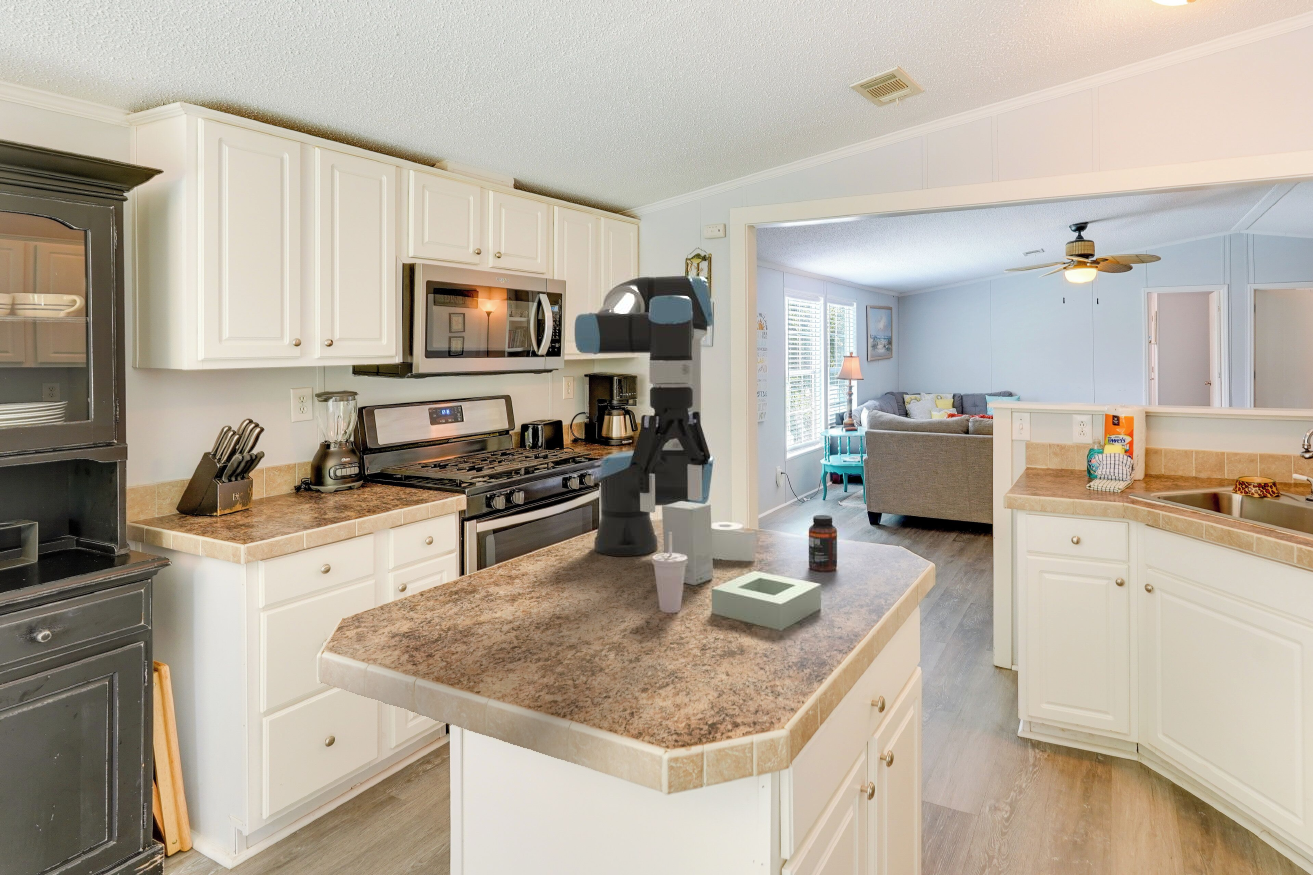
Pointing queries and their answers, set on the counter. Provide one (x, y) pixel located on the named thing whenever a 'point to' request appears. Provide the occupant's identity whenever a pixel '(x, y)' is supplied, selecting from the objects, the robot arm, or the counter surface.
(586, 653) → the counter surface
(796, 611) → the block
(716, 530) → the toilet paper
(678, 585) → the smoothie
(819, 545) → the supplement bottle
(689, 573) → the skincare box
